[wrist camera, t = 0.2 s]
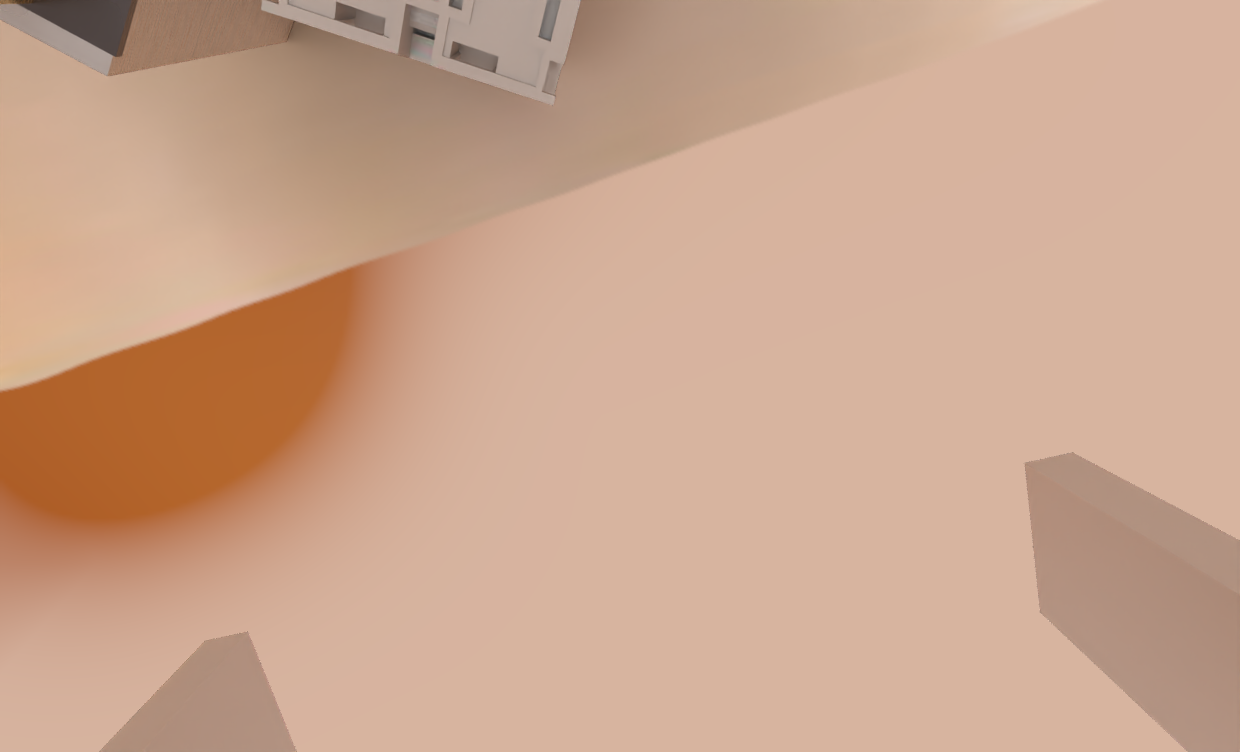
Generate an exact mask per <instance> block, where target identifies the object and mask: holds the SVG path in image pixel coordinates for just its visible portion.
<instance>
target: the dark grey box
mask: <svg viewBox="0 0 1240 752" xmlns="http://www.w3.org/2000/svg"><path fill="white" fill-rule="evenodd" d="M270 1H273V2H276V3H279V0H270ZM261 6H262V0H0V20H2V21H4V22H6V23H7V24H9V25H11V26H13V27H15V28H17V29H19V30H21V31H23V32H24V33H26V34H28V35H30V36H32V37H34V38H36V39H38V40H40V41H41V42H43V43H45V44H47V45H49V46H51V47H53V48H55V49H57V50H58V51H60V52H62V53H64V54H66V55H68V56H70V57H72V58H73V59H75V60H77V61H79V62H81V63H83V64H85V65H87V66H89V67H90V68H92V69H94V70H96V71H98V72H100V73H102V74H104V75H106V76H112V75H117V74H122V73H127V72H133V71H138V70H143V69H148V68H153V67H159V66H164V65H169V64H174V63H179V62H185V61H190V60H195V59H200V58H205V57H211V56H216V55H221V54H226V53H231V52H237V51H242V50H247V49H252V48H257V47H263V46H268V45H273V44H278V43H283V42H286V41H287V39H288V36H289V33H290V31H291V28H292V25H293V23H294V20H291V19H288V18H285V17H282V16H278V15H275V14H272V13H269V12H266V11H263V10H261Z"/></svg>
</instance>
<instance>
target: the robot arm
mask: <svg viewBox="0 0 1240 752" xmlns="http://www.w3.org/2000/svg"><path fill="white" fill-rule="evenodd" d="M1025 471H1026V480H1027V491H1028V500H1029V509H1030V520H1031V529H1032V538H1033V548H1034V558H1035V567H1036V578H1037V587H1038V597H1039V606H1040V613H1041V614H1042V615H1043V616H1044V617H1046V618H1047V619H1048V620H1049V621H1050V622H1051V623H1052V624H1053V625H1054V626H1055V627H1056V628H1057V629H1058V630H1059V631H1060V632H1061V633H1062V634H1064V635H1065V636H1066V637H1067V638H1068V639H1069V640H1070V641H1071V642H1072V643H1073V644H1074V645H1075V646H1076V647H1077V648H1079V650H1080V651H1082V652H1083V653H1084V654H1085V655H1086V656H1087V657H1088V658H1089V659H1090V660H1091V661H1092V662H1093V663H1094V664H1095V665H1096V666H1098V667H1099V668H1100V669H1101V670H1102V671H1103V672H1104V673H1105V674H1106V675H1107V676H1108V677H1109V678H1110V679H1111V680H1112V681H1113V682H1114V683H1115V684H1117V685H1118V686H1119V687H1120V688H1121V689H1122V690H1123V691H1124V692H1125V693H1126V694H1127V695H1128V696H1129V697H1130V698H1131V699H1132V700H1133V701H1135V702H1136V703H1137V704H1138V705H1139V706H1140V707H1141V708H1142V709H1143V710H1144V711H1145V712H1146V713H1147V714H1148V715H1149V716H1150V717H1152V718H1153V719H1154V720H1155V721H1156V722H1157V723H1158V724H1159V725H1160V726H1161V727H1162V728H1163V729H1164V730H1165V731H1166V732H1167V733H1168V734H1170V735H1171V736H1172V737H1173V738H1174V739H1175V740H1176V741H1177V742H1178V743H1179V744H1180V745H1181V746H1182V747H1183V748H1184V749H1186V751H1188V752H1240V540H1238V539H1236V538H1234V537H1232V536H1230V535H1228V534H1226V533H1225V532H1223V531H1221V530H1219V529H1217V528H1215V527H1213V526H1211V525H1209V524H1207V523H1206V522H1204V521H1202V520H1200V519H1198V518H1196V517H1194V516H1192V515H1190V514H1188V513H1186V512H1184V511H1183V510H1181V509H1179V508H1177V507H1175V506H1173V505H1171V504H1169V503H1167V502H1165V501H1164V500H1162V499H1160V498H1158V497H1156V496H1154V495H1152V494H1151V493H1149V492H1147V491H1144V490H1143V489H1141V488H1139V487H1137V486H1135V485H1133V484H1132V483H1130V482H1128V481H1126V480H1124V479H1122V478H1120V477H1118V476H1116V475H1114V474H1113V473H1111V472H1108V471H1107V470H1105V469H1103V468H1101V467H1099V466H1097V465H1095V464H1093V463H1092V462H1090V461H1088V460H1086V459H1084V458H1082V457H1080V456H1078V455H1076V454H1075V453H1073V452H1072V453H1068V454H1063V455H1059V456H1054V457H1049V458H1045V459H1040V460H1036V461H1031V462H1026V463H1025ZM99 752H297V751H296V749H295V746H294V744H293V742H292V739H291V737H290V734H289V732H288V729H287V727H286V724H285V722H284V719H283V717H282V714H281V712H280V709H279V707H278V705H277V702H276V700H275V697H274V695H273V692H272V690H271V687H270V685H269V682H268V680H267V678H266V675H265V673H264V670H263V668H262V665H261V663H260V660H259V658H258V656H257V653H256V650H255V648H254V645H253V643H252V640H251V638H250V636H249V633H248V632H244V633H239V634H234V635H230V636H225V637H221V638H216V639H211V640H207V641H204V643H202V645H201V646H200V647H199V648H198V649H197V650H196V651H195V652H194V653H193V654H192V655H191V656H190V657H189V658H188V659H187V660H186V661H185V662H184V663H183V664H182V666H181V667H180V668H179V669H178V670H177V671H176V672H175V673H174V674H173V675H172V676H171V677H170V678H169V679H168V680H167V681H166V682H165V683H164V684H163V686H161V687H160V689H159V690H158V691H157V692H156V693H155V694H154V695H153V696H152V697H151V698H150V699H149V700H148V701H147V702H146V703H145V704H144V705H143V706H142V707H141V708H140V709H139V710H138V712H137V713H136V714H135V715H134V716H133V717H132V718H131V719H130V720H129V721H128V722H127V723H126V724H125V725H124V726H123V727H122V729H120V730H119V732H117V734H116V735H115V736H114V737H113V738H112V739H111V740H110V741H109V742H108V743H107V744H106V745H105V746H104V747H103V748H102V749H101V750H100V751H99Z"/></svg>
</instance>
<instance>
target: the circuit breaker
mask: <svg viewBox="0 0 1240 752" xmlns="http://www.w3.org/2000/svg"><path fill="white" fill-rule="evenodd" d="M580 2H581V0H279V3H276V2H273V1H270V0H262V6H261V10H263V11H266V12H269V13H272V14H275V15H278V16H282V17H285V18H288V19H291V20H294V21H297V22H300V23H303V24H306V25H309V26H312V27H315V28H318V29H321V30H324V31H327V32H330V33H333V34H336V35H339V36H342V37H345V38H348V39H351V40H354V41H358V42H361V43H364V44H367V45H370V46H373V47H376V48H379V49H382V50H385V51H388V52H391V53H394V54H397V55H400V56H404V57H407V58H411V59H414V60H417V61H420V62H423V63H426V64H429V65H431V66H434V67H437V68H440V69H443V70H446V71H449V72H452V73H455V74H458V75H461V76H464V77H467V78H470V79H473V80H476V81H479V82H482V83H485V84H488V85H491V86H494V87H497V88H500V89H503V90H507V91H510V92H513V93H516V94H519V95H522V96H525V97H528V98H531V99H534V100H537V101H540V102H543V103H546V104H549V105H552V106H553V105H554V101H555V98H556V95H555V91H556V87H557V83H558V79H559V76H560V72H561V68H562V65H564V63H565V59H566V56H567V52H568V48H569V44H570V40H571V36H572V33H573V29H574V25H575V21H576V17H577V14H578V10H579V6H580Z"/></svg>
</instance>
